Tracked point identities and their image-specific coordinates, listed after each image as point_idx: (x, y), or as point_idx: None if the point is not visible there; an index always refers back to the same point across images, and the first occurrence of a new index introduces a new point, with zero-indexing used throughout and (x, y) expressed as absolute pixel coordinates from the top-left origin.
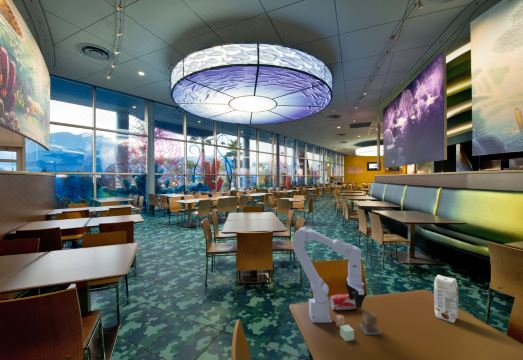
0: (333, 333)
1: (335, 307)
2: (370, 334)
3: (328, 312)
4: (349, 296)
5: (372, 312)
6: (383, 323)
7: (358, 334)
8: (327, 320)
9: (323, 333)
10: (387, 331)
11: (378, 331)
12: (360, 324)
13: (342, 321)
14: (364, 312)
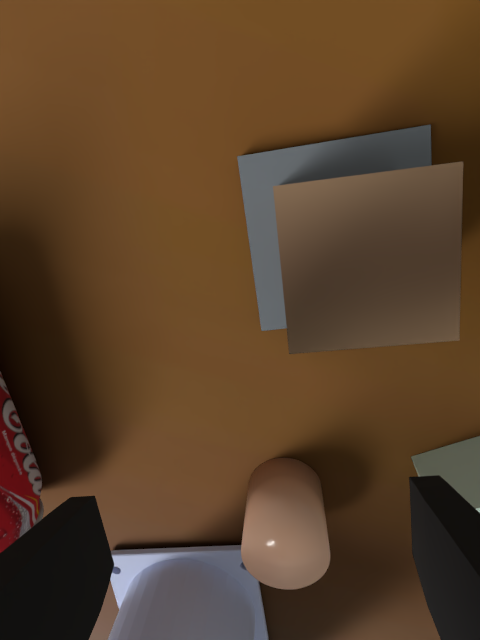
0: (410, 563)
1: (37, 505)
2: None
3: (212, 632)
4: (90, 629)
5: (291, 186)
6: (190, 16)
7: (422, 371)
8: (240, 580)
9: (411, 627)
10: (359, 25)
11: (396, 152)
12: (275, 315)
13: (323, 519)
14: (301, 322)
